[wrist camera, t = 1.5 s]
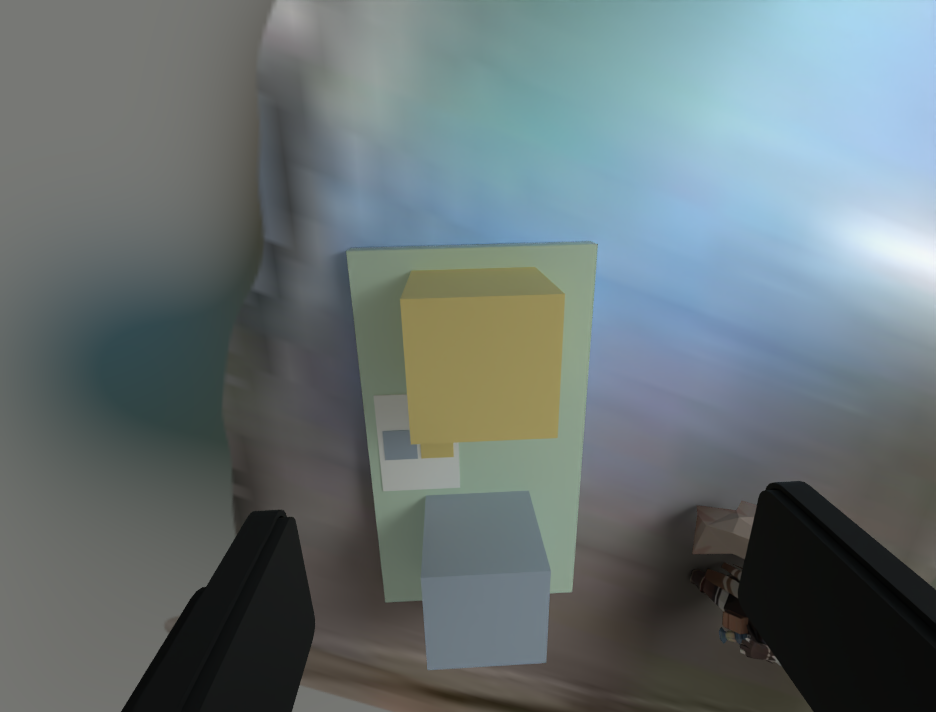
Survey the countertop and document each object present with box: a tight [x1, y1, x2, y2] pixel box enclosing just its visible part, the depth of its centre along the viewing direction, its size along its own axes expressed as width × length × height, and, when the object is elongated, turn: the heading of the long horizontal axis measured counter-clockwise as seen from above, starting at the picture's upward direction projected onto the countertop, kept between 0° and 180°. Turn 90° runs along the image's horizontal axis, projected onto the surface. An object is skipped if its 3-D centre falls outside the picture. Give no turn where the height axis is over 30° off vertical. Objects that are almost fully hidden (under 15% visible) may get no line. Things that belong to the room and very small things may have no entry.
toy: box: [690, 501, 802, 695], centre depth 24 cm, size 9×8×15 cm
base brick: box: [421, 491, 551, 670], centre depth 25 cm, size 6×6×6 cm
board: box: [346, 241, 598, 603], centre depth 26 cm, size 22×12×1 cm, turn 1°
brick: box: [400, 267, 565, 444], centre depth 21 cm, size 6×6×6 cm
